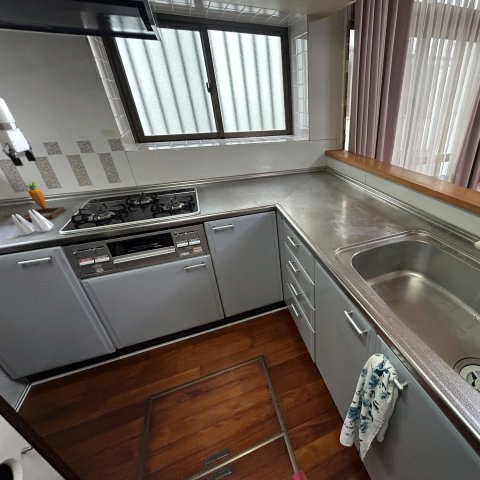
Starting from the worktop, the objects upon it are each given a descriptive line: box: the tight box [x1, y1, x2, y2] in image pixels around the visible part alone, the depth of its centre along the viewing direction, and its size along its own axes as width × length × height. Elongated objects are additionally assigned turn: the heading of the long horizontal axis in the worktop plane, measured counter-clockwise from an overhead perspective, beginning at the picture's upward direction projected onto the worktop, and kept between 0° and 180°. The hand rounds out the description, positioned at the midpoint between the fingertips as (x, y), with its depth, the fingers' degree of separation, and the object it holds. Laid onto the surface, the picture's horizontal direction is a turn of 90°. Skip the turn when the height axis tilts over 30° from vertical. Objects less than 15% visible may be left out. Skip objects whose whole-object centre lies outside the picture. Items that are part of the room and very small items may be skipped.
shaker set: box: [11, 209, 55, 237], centre depth 122 cm, size 12×4×11 cm, turn 107°
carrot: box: [24, 181, 47, 209], centre depth 144 cm, size 5×5×15 cm
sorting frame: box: [16, 206, 66, 223], centre depth 139 cm, size 14×12×2 cm
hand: (26, 163), depth 134 cm, fingers open, 9 cm apart
